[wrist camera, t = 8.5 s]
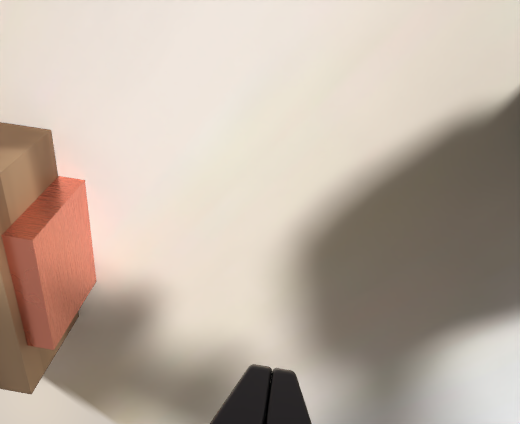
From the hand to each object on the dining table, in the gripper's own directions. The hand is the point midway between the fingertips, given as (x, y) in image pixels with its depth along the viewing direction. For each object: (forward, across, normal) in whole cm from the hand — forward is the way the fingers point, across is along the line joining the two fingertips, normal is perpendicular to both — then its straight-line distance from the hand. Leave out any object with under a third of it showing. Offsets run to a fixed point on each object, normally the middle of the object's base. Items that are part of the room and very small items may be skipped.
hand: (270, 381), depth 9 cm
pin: (+12, +14, +7) cm, 20 cm away
